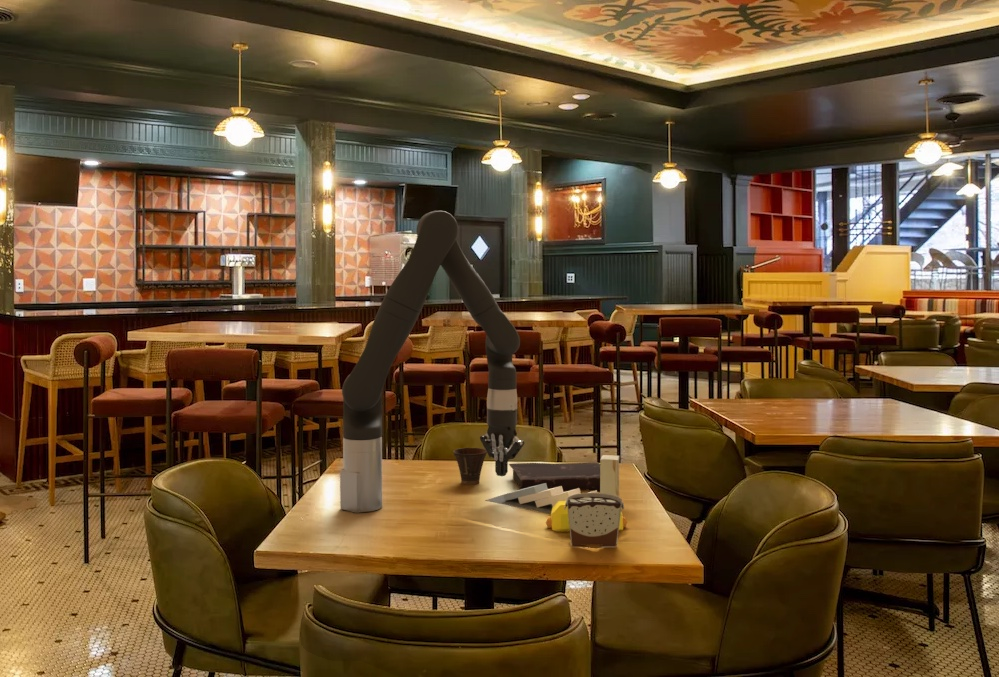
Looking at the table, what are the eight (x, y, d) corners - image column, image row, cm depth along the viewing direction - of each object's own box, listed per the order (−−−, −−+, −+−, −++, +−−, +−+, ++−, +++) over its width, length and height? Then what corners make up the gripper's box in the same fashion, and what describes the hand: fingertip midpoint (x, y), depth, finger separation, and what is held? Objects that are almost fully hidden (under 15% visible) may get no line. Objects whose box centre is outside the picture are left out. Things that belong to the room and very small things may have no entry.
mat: (569, 520, 193) (569, 517, 193) (485, 502, 208) (485, 500, 208) (592, 511, 201) (592, 508, 201) (509, 494, 216) (509, 492, 216)
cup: (496, 484, 225) (491, 447, 224) (465, 491, 222) (459, 454, 221) (484, 478, 233) (479, 443, 232) (454, 485, 230) (449, 449, 229)
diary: (615, 494, 220) (615, 475, 220) (521, 498, 216) (521, 479, 216) (595, 477, 239) (595, 459, 238) (508, 480, 234) (508, 462, 234)
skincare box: (617, 510, 201) (618, 460, 201) (599, 509, 202) (599, 459, 201) (619, 504, 208) (619, 454, 207) (601, 503, 208) (602, 454, 208)
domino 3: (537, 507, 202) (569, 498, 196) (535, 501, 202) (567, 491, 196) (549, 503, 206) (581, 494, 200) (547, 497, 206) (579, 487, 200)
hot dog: (630, 535, 182) (623, 525, 190) (630, 505, 182) (624, 496, 189) (547, 536, 182) (544, 526, 189) (547, 505, 181) (544, 496, 189)
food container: (618, 538, 180) (619, 492, 179) (624, 547, 173) (624, 499, 173) (561, 538, 179) (561, 492, 179) (564, 547, 173) (564, 499, 172)
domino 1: (504, 500, 208) (535, 493, 202) (503, 494, 208) (534, 486, 202) (517, 497, 212) (547, 489, 206) (515, 490, 212) (546, 482, 206)
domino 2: (519, 504, 205) (551, 496, 199) (518, 497, 205) (549, 489, 199) (532, 500, 209) (563, 492, 203) (530, 493, 209) (561, 485, 203)
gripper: (472, 405, 211) (471, 474, 212) (513, 410, 202) (512, 482, 204) (491, 402, 217) (490, 469, 218) (532, 407, 208) (531, 476, 209)
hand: (501, 475), depth 211 cm, fingers closed
